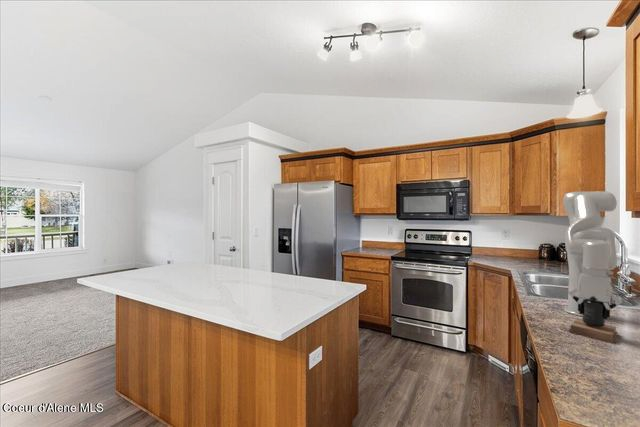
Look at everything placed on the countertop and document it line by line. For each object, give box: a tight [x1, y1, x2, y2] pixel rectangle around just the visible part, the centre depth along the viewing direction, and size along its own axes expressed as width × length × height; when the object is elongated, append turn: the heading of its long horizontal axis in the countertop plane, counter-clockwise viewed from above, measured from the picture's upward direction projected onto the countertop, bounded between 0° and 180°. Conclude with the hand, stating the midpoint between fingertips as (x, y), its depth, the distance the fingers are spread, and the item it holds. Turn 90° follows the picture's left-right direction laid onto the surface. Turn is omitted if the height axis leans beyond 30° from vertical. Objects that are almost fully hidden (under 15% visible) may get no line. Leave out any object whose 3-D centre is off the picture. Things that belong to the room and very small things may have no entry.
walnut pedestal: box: [568, 317, 618, 344], centre depth 121 cm, size 13×13×3 cm
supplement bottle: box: [581, 296, 606, 326], centre depth 121 cm, size 7×7×12 cm
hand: (593, 315), depth 121 cm, fingers closed on supplement bottle, 6 cm apart
